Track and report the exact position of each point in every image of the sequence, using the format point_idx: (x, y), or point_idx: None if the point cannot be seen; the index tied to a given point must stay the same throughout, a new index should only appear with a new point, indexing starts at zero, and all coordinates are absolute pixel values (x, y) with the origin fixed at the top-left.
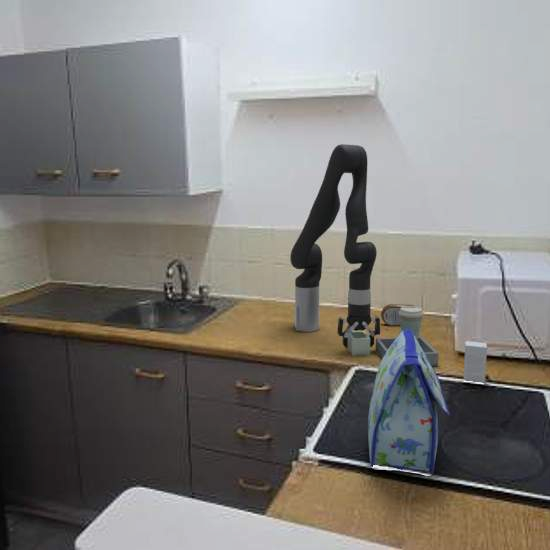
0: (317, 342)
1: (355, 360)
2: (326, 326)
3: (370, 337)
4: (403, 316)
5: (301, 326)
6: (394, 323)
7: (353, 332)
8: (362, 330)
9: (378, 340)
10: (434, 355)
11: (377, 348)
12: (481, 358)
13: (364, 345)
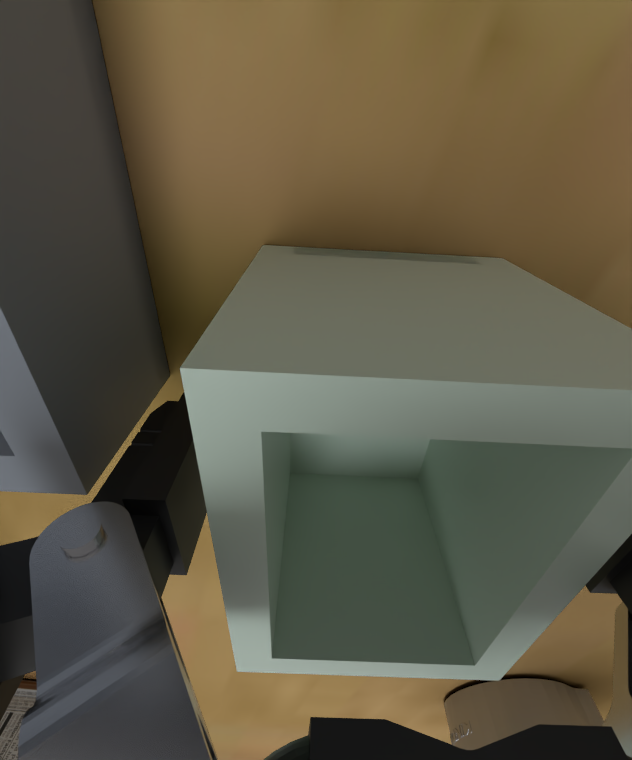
0: None
1: (559, 43)
2: (396, 702)
3: (172, 498)
4: None
5: (584, 723)
6: (23, 697)
7: (423, 655)
8: (360, 719)
9: (27, 409)
10: None
11: (123, 327)
12: None
13: (348, 299)
